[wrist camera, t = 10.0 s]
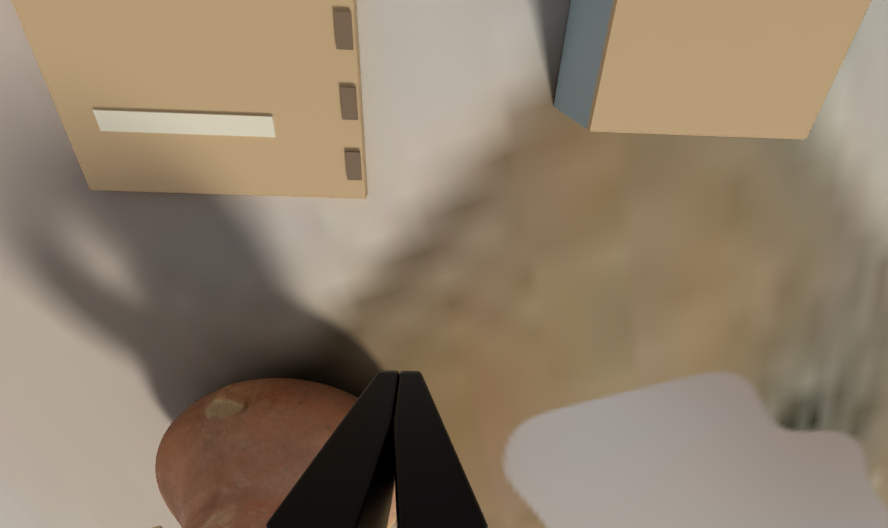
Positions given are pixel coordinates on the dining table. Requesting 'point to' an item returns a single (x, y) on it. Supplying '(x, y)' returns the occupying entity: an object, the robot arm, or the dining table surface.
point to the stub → (703, 64)
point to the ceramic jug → (246, 450)
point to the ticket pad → (206, 93)
